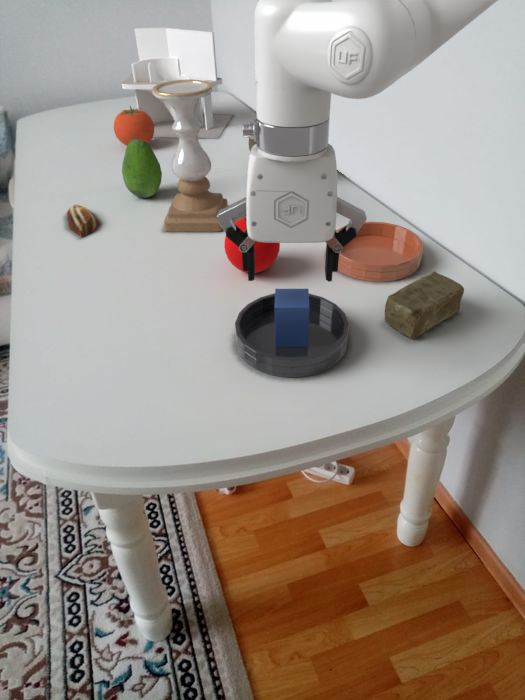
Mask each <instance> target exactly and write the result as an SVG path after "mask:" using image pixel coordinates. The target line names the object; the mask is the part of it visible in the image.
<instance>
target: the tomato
mask: <svg viewBox="0 0 525 700" xmlns="http://www.w3.org/2000/svg"><path fill="white" fill-rule="evenodd" d="M139 109H140V108H137V107H136V108H134V109H133V108H132V106H131V105H129V109H123V110H121V112H119V113H118V114H117V115H116V117H115V119H114V121H113V132H114V134H115V137H116V138H117V140H118V141H119V142H120V143H122V145H125V146H126V147H127V145H128V144H129V143H130V141H131V140H132V139H140V140H143V141H145V142H146V143H147V144H149V143H150V142H151V140H152V139H153V138H154V137H153V135H154V123H153V121H152V119H151V117H150V116H149V115H148V114H147V113H146V112H144V111H142V110H139Z"/></svg>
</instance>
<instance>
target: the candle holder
mask: <svg viewBox="0 0 525 700" xmlns="http://www.w3.org/2000/svg"><path fill="white" fill-rule="evenodd" d="M213 90H214V87H213V86H212V84H211V83H209V82H207V81H203V80H174V81H168V82H164V83H160V84H157V85H155V86H154V87H153V88H152V93H153V95H154V96H155V97H156V98H159V99H164V100H168V103H169V104H170V105H171V107H172V108H173V109H174V111H175V115H176V116H175V121H174V123H173V125H172V129H173V130H174V131H175V132H176V134H177V136H178V138H177V139H178V146H177V148H176V150H175V152H174V154H173V156H172V159H171V171H172V173H173V174H174V175H175V177H177V178H179V180H178V182H177V190H178V191H179V193H176V195H175V196H174V198H173V200H172V202H171V204H170V206H169V209H168V211H167V214H166V216H165V218H164V222H163V223H164V230H165V232H172V233H173V232H174V233H175V232H180V233H181V232H184V233H185V232H187V233H189V232H190V233H191V232H192V233H193V232H195V233H197V232H198V233H199V232H202V233H203V232H204V233H208V232H209V233H211V232H212V233H214V232H215V233H216V232H222V231H223V229H222V227H221V226H220V224H219V223H218V221H217V219H216V217H217V213H218V211H219V210H221V209H223V208H225V207H227V206H229V205H228V199H227V198H224V196H223V194H222V193H220V192H211V191H209V190H210V188H211V182H210V180H209V179H208V178H207V176H208V175H209V174H210V172H211V170H212V162H211V158H210V157H209V155H208V153H207V152H206V151H205V150H204V148H203V147H202V145H201V144H200V141H199V138H198V134H199V129H201V127H202V125H201V123H200V122H199V120H198V119H197V117H196V114H195V111H196V106H197V104H198V103H199V98H201V99H202V98H203V97H204V96H207V95H209V94H210V93H211V94H212V92H213Z"/></svg>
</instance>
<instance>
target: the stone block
mask: <svg viewBox="0 0 525 700" xmlns="http://www.w3.org/2000/svg"><path fill="white" fill-rule="evenodd" d="M464 293H465V288H464V286H463V285H462V284H461V283H459V282H457V281H456V280H454V279H452V278H450V277H448V276H446V275H443V274H440V273H438V272H437V271H431V272H430V273H429V274H426V275H423V276H420V277H419V278H418V279H416V280H414V281H412V282H411V283H409V284H407V285H405V286H403V287H402V288H400V289H399V290H397V291H395V292H394V293H392V294H389V295H388V296H387V299H386V302H385V304H384V305H385V306H384V322H385V323H386V324H388V325H389V326H390V327H391V328H393V329H394V330H396V331H397V332H399V333H400V334H401V335H402V336H405V337H408V338H410V339H412V340H415V339H416V338H419V336H421V335H423V334H425V333H426V332H427V331H429V330H431V329H432V328H433V327H435V326H436V325H439V324H441V322H443V321H445V320H448V319H450V318H451V317H452V316H454V315H455V314H456V313H458V312H459V310H460V308H461V302H462V298H463V297H464Z"/></svg>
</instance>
